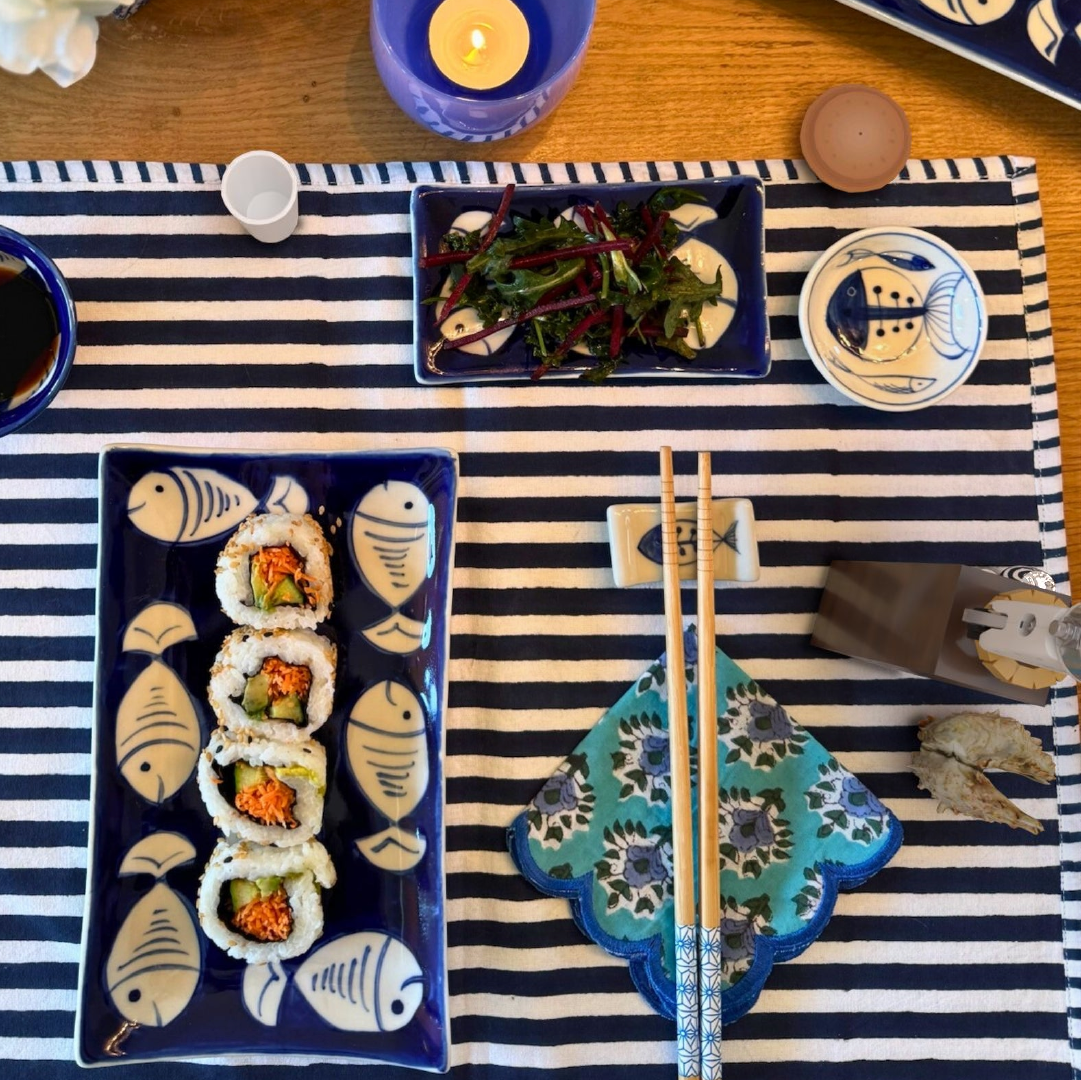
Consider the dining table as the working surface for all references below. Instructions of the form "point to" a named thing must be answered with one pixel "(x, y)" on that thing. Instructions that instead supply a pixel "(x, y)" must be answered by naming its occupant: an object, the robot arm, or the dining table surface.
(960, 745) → the seashell
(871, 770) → the dining table surface
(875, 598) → the peg stand
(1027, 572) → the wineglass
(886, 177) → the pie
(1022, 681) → the ring
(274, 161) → the cup
